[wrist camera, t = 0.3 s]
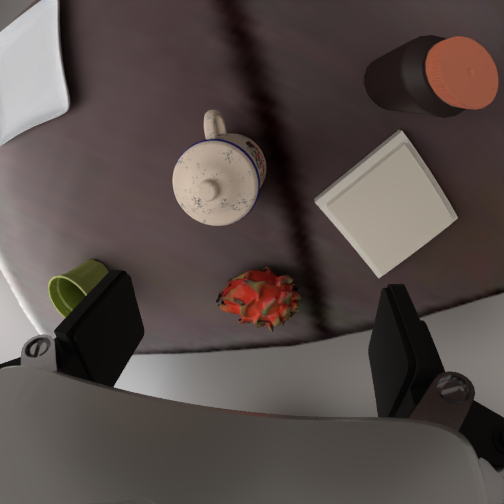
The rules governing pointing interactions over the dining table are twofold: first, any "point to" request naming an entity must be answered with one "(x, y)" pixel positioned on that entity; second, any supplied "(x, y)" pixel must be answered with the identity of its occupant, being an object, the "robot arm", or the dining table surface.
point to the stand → (387, 204)
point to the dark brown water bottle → (433, 77)
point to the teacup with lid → (219, 175)
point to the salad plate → (32, 70)
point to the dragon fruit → (261, 298)
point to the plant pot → (75, 285)
